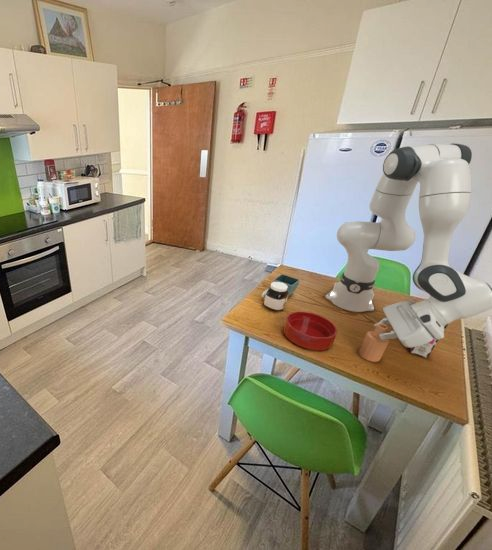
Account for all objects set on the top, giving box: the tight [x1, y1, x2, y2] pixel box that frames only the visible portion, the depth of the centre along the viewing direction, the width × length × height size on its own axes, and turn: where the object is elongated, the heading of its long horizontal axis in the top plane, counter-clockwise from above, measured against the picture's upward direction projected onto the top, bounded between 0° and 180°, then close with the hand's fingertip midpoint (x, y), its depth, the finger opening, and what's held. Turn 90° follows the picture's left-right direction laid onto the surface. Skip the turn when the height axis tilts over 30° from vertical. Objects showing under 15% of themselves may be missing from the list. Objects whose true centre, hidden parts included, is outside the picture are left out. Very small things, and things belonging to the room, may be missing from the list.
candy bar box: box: [410, 304, 449, 359], centre depth 107 cm, size 11×5×16 cm, turn 141°
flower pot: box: [273, 273, 301, 298], centre depth 144 cm, size 9×9×9 cm
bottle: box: [358, 324, 390, 363], centre depth 105 cm, size 6×6×14 cm
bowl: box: [283, 311, 338, 351], centre depth 117 cm, size 17×17×6 cm
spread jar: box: [261, 281, 289, 312], centre depth 137 cm, size 12×11×12 cm
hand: (377, 332), depth 104 cm, fingers open, 4 cm apart
